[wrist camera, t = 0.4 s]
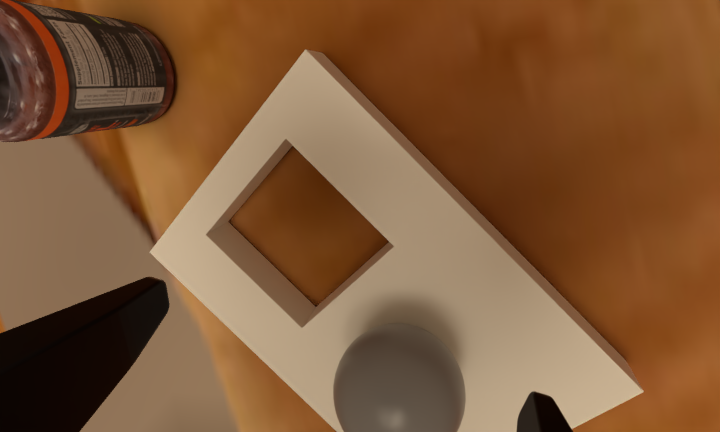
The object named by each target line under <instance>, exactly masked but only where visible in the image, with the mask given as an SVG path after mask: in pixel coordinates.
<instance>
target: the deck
mask: <svg viewBox="0 0 720 432" xmlns="http://www.w3.org/2000/svg"><path fill="white" fill-rule="evenodd" d="M292 146H294V147H295V148H296V149H297V150H298V151H299V152H300V153H301V154H302V155H303V156H304V157H305V158H306V159H307V160H308V161H309V162H310V163H311V164H312V165H313V166H314V167H315V168H316V169H317V170H318V171H319V172H320V173H321V174H322V175H323V176H324V177H325V178H326V179H327V180H328V181H329V182H330V183H331V184H332V185H333V186H334V187H335V188H336V189H337V190H338V191H339V192H340V193H341V194H342V195H343V196H344V197H345V198H346V199H347V200H348V201H349V202H350V203H351V204H352V205H353V206H354V207H355V208H356V209H357V210H358V211H359V212H360V213H361V214H362V215H363V216H364V217H365V218H366V219H367V220H368V221H369V222H370V223H371V224H372V225H373V226H374V227H375V228H376V229H377V230H378V231H379V232H380V233H381V234H382V235H383V236H384V237H385V238H386V239H387V240H388V241H389V242H388V243H387V244H386V245H385V246H384V247H383V248H381V249H380V250H379V251H378V252H377V253H376V254H375V255H374V256H372V257H371V258H370V259H369V260H368V261H367V262H366V263H365V264H364V265H362V266H361V267H360V268H359V269H358V270H357V271H356V272H355V273H354V274H352V275H351V276H350V277H349V278H348V279H347V280H346V281H345V282H343V283H342V284H341V285H340V286H339V287H338V288H337V289H336V290H335V291H333V292H332V293H331V294H330V295H329V296H328V297H327V298H326V299H324V300H323V301H322V302H321V303H320V304H319V305H318V306H317V307H315V306H314V305H313V304H312V303H311V302H310V301H309V300H308V299H307V298H306V297H305V296H304V295H303V294H302V293H301V292H300V291H299V290H298V289H297V288H296V287H295V286H294V285H293V284H292V283H291V282H290V281H289V280H288V279H287V278H286V277H285V276H283V275H282V274H281V273H280V272H279V271H278V270H277V269H276V268H275V267H274V266H273V265H272V264H271V263H270V262H269V261H268V260H267V259H266V258H265V257H264V256H263V255H262V254H261V253H260V252H259V251H258V250H257V249H256V248H255V247H254V246H253V245H252V244H251V243H250V242H249V241H248V240H247V239H246V238H244V237H243V236H242V235H241V234H240V233H239V232H238V231H237V230H236V229H235V228H234V227H233V226H232V225H231V224H230V223H229V222H228V221H229V220H230V219H231V218H232V217H233V215H234V214H235V213H236V212H237V211H238V210H239V208H240V207H241V206H242V205H243V204H244V202H245V201H246V200H247V199H248V198H249V197H250V195H251V194H252V193H253V192H254V191H255V190H256V188H257V187H258V186H259V185H260V184H261V182H262V181H263V180H264V179H265V178H266V177H267V175H268V174H269V173H270V172H271V171H272V169H273V168H274V167H275V166H276V165H277V164H278V162H279V161H280V160H281V159H282V158H283V157H284V155H285V154H286V153H287V152H288V151H289V149H290V148H291V147H292ZM150 253H151V254H152V255H153V256H154V257H155V258H156V259H157V260H158V261H159V262H160V263H161V264H162V265H163V266H164V267H165V268H166V269H167V270H169V271H170V272H171V273H172V274H173V275H174V276H175V277H176V278H177V279H178V280H179V281H180V282H181V283H182V284H183V285H184V286H185V287H186V288H187V289H188V290H189V291H190V292H191V293H193V294H194V295H195V296H196V297H197V298H198V299H199V300H200V301H201V302H202V303H203V304H204V305H205V306H206V307H207V308H208V309H209V310H210V311H211V312H212V313H213V314H214V315H215V316H217V317H218V318H219V319H220V320H221V321H222V322H223V323H224V324H225V325H226V326H227V327H228V328H229V329H230V330H231V331H232V332H233V333H234V334H235V335H236V336H237V337H238V338H240V339H241V340H242V341H243V342H244V343H245V344H246V345H247V346H248V347H249V348H250V349H251V350H252V351H253V352H254V353H255V354H256V355H257V356H258V357H259V358H260V359H261V360H262V361H264V362H265V363H266V364H267V365H268V366H269V367H270V368H271V369H272V370H273V371H274V372H275V373H276V374H277V375H278V376H279V377H280V378H281V379H282V380H283V381H284V382H285V383H286V384H288V385H289V386H290V387H291V388H292V389H293V390H294V391H295V392H296V393H297V394H298V395H299V396H300V397H301V398H302V399H303V400H304V401H305V402H306V403H307V404H308V405H309V406H310V407H312V408H313V409H314V410H315V411H316V412H317V413H318V414H319V415H320V416H321V417H322V418H323V419H324V420H325V421H326V422H327V423H328V424H329V425H330V426H331V427H332V428H333V429H335V430H336V431H337V432H344V431H343V429H342V427H341V425H340V423H339V420H338V418H337V415H336V411H335V407H334V400H333V385H334V378H335V373H336V370H337V367H338V364H339V361H340V360H341V358H342V356H343V354H344V352H345V351H346V349H347V348H348V347H349V346H350V344H351V343H352V342H353V341H354V340H355V339H356V338H357V337H359V336H360V335H362V334H363V333H365V332H366V331H368V330H370V329H372V328H374V327H377V326H380V325H384V324H389V323H404V324H410V325H414V326H417V327H420V328H422V329H425V330H427V331H428V332H430V333H432V334H433V335H435V336H436V337H437V338H439V339H440V340H441V341H442V342H443V343H444V344H445V345H446V346H447V348H448V349H449V350H450V351H451V353H452V354H453V355H454V357H455V359H456V361H457V363H458V365H459V367H460V370H461V373H462V376H463V379H464V384H465V393H466V402H465V410H464V415H463V419H462V422H461V425H460V427H459V429H458V431H457V432H517V420H518V416H519V413H520V411H521V409H522V407H523V405H524V403H525V401H526V399H527V397H528V395H529V394H530V393H531V392H532V391H536V392H539V393H542V394H546V395H549V396H551V397H552V398H553V399H554V401H555V402H556V404H557V406H558V407H559V409H560V411H561V412H562V414H563V416H564V417H565V419H566V421H567V422H568V424H569V426H570V427H571V429H573V428H575V427H577V426H579V425H581V424H583V423H584V422H586V421H588V420H590V419H592V418H594V417H596V416H598V415H600V414H602V413H604V412H606V411H608V410H610V409H612V408H614V407H615V406H617V405H619V404H621V403H623V402H625V401H627V400H629V399H631V398H633V397H635V396H637V395H639V394H641V393H643V392H644V391H643V389H642V388H641V386H640V384H639V382H638V381H637V379H636V377H635V375H634V374H633V372H632V370H631V368H630V367H629V365H628V363H627V361H626V360H625V359H624V358H623V357H622V356H621V355H620V354H619V353H618V352H617V351H616V350H615V349H614V348H613V347H612V346H611V345H610V344H609V343H608V342H607V341H606V340H605V339H604V338H603V337H602V336H601V335H600V334H599V333H598V332H597V331H596V330H595V329H594V328H593V327H592V326H591V325H590V324H589V323H588V322H587V321H586V320H585V319H584V318H583V317H582V316H581V315H580V313H579V312H578V311H577V310H576V309H575V308H574V307H573V306H572V305H571V304H570V303H569V302H568V301H567V300H566V299H565V298H564V297H563V296H562V295H561V294H560V293H559V292H558V291H557V290H556V289H555V288H554V287H553V286H552V285H551V284H550V283H549V282H548V281H547V280H546V279H545V278H544V277H543V276H542V275H541V274H540V273H539V272H538V271H537V270H536V269H535V268H534V267H533V266H532V265H531V264H530V263H529V262H528V261H527V260H526V259H525V258H524V257H523V256H522V255H521V254H520V253H519V252H518V251H517V250H516V249H515V248H514V247H513V246H512V245H511V244H510V243H509V242H508V240H507V239H506V238H505V237H504V236H503V235H502V234H501V233H500V232H499V231H498V230H497V229H496V228H495V227H494V226H493V225H492V224H491V223H490V222H489V221H488V220H487V219H486V218H485V217H484V216H483V215H482V214H481V213H480V212H479V211H478V210H477V209H476V208H475V207H474V206H473V205H472V204H471V203H470V202H469V201H468V200H467V199H466V198H465V197H464V196H463V195H462V194H461V193H460V192H459V191H458V190H457V189H456V188H455V187H454V186H453V185H452V184H451V183H450V182H449V181H448V180H447V179H446V178H445V177H444V176H443V175H442V174H441V173H440V172H439V171H438V170H437V168H436V167H435V166H434V165H433V164H432V163H431V162H430V161H429V160H428V159H427V158H426V157H425V156H424V155H423V154H422V153H421V152H420V151H419V150H418V149H417V148H416V147H415V146H414V145H413V144H412V143H411V142H410V141H409V140H408V139H407V138H406V137H405V136H404V135H403V134H402V133H401V132H400V131H399V130H398V129H397V128H396V127H395V126H394V125H393V124H392V123H391V122H390V121H389V120H388V119H387V118H386V117H385V116H384V115H383V114H382V113H381V112H380V111H379V110H378V109H377V108H376V107H375V106H374V105H373V104H372V103H371V102H370V101H369V100H368V99H367V98H366V96H365V95H364V94H363V93H362V92H361V91H360V90H359V89H358V88H357V87H356V86H355V85H354V84H353V83H352V82H351V81H350V80H349V79H348V78H347V77H346V76H345V75H344V74H343V73H342V72H341V71H340V70H339V69H338V68H337V67H336V66H335V65H334V64H333V63H332V62H331V61H330V60H329V59H328V58H327V57H326V56H325V55H324V54H323V53H321V52H316V51H311V50H306V49H305V51H304V52H303V53H302V55H301V56H300V57H299V58H298V60H297V61H296V62H295V64H294V65H293V66H292V68H291V69H290V70H289V71H288V73H287V74H286V75H285V77H284V78H283V79H282V81H281V82H280V83H279V84H278V86H277V87H276V88H275V90H274V91H273V92H272V94H271V95H270V96H269V97H268V99H267V100H266V101H265V103H264V104H263V105H262V107H261V108H260V109H259V110H258V112H257V113H256V114H255V116H254V117H253V118H252V120H251V121H250V122H249V123H248V125H247V126H246V127H245V129H244V130H243V131H242V133H241V134H240V135H239V136H238V138H237V139H236V140H235V142H234V143H233V144H232V146H231V147H230V148H229V149H228V151H227V152H226V153H225V155H224V156H223V157H222V159H221V160H220V161H219V163H218V164H217V165H216V166H215V168H214V169H213V170H212V172H211V173H210V174H209V176H208V177H207V178H206V179H205V181H204V182H203V183H202V185H201V186H200V187H199V189H198V190H197V191H196V192H195V194H194V195H193V196H192V198H191V199H190V200H189V202H188V203H187V204H186V205H185V207H184V208H183V209H182V211H181V212H180V213H179V215H178V216H177V217H176V218H175V220H174V221H173V222H172V224H171V225H170V226H169V228H168V229H167V230H166V231H165V233H164V234H163V235H162V237H161V238H160V239H159V241H158V242H157V243H156V244H155V246H154V247H153V248H152V250H151V251H150Z"/></svg>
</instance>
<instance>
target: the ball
mask: <svg viewBox="0 0 720 432" xmlns="http://www.w3.org/2000/svg"><path fill="white" fill-rule="evenodd" d="M333 400H334V407H335V411H336V415H337V418H338V420H339V423H340V425H341V427H342V429H343V431H344V432H457V431H458V429H459V427H460V425H461V422H462V419H463V415H464V410H465V402H466V393H465V384H464V379H463V376H462V373H461V370H460V367H459V365H458V363H457V361H456V359H455V357H454V355H453V354H452V353H451V351H450V350H449V349H448V348H447V346H446V345H445V344H444V343H443V342H442V341H441V340H440V339H439V338H437V337H436V336H435V335H433V334H432V333H430V332H428V331H427V330H425V329H422V328H420V327H417V326H414V325H410V324H404V323H389V324H384V325H380V326H377V327H374V328H372V329H370V330H368V331H366V332H365V333H363V334H362V335H360V336H359V337H357V338H356V339H355V340H354V341H353V342H352V343H351V344H350V346H349V347H348V348H347V349H346V351H345V352H344V354H343V356H342V358H341V360H340V361H339V364H338V367H337V370H336V373H335V378H334V385H333Z"/></svg>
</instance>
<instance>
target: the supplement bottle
mask: <svg viewBox="0 0 720 432" xmlns="http://www.w3.org/2000/svg"><path fill="white" fill-rule="evenodd" d="M173 91H174V74H173V70H172V65H171V62H170V59H169V57H168V55H167V53H166V51H165V49H164V48H163V46H162V44H161V43H160V42H159V41H158V39H157V38H156V37H155V36H153V35H152V34H151V33H150V32H149V31H147V30H146V29H145V28H143V27H141V26H139V25H137V24H134V23H130V22H126V21H123V20H119V19H114V18H109V17H102V16H97V15H91V14H86V13H81V12H75V11H70V10H64V9H59V8H52V7H47V6H42V5H36V4H31V3H24V2H19V1H15V0H0V141H2V142H19V141H27V140H33V139H44V138H51V137H59V136H67V135H72V134H80V133H86V132H93V131H101V130H109V129H117V128H126V127H131V126H139V125H141V124H146V123H149V122H152V121H154V120H156V119H157V118H159V117H160V116H161V115H162V114H163V113H164V112H166V110H167V108H168V106H169V104H170V102H171V98H172V95H173Z"/></svg>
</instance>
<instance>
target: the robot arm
mask: <svg viewBox="0 0 720 432" xmlns="http://www.w3.org/2000/svg"><path fill="white" fill-rule="evenodd" d="M168 309H169V298H168V293H167V287H166V283H165V282H164V281H163V280H160V279H157V278H154V277H146V278H143V279H141V280H138V281H135V282H133V283H130V284H127V285H125V286H122V287H120V288H117V289H115V290H112V291H110V292H107V293H104V294H101V295H99V296H96V297H94V298H91V299H88V300H86V301H83V302H81V303H78V304H75V305H73V306H71V307H68V308H65V309H62V310H60V311H57V312H55V313H52V314H50V315H47V316H44V317H42V318H39V319H37V320H34V321H32V322H29V323H26V324H23V325H21V326H19V327H16V328H13V329H11V330H8V331H5V332H3V333H0V432H80V430H81V429H82V428H83V426H84V425H85V424H86V423H87V422H88V420H89V419H90V418H91V417H92V415H93V414H94V413H95V412H96V410H97V409H98V408H99V407H100V405H101V404H102V403H103V402H104V400H105V399H106V398H107V397H108V395H109V394H110V393H111V392H112V390H113V389H114V388H115V387H116V385H117V384H118V383H119V382H120V380H121V379H122V378H123V377H124V375H125V374H126V373H127V371H128V370H129V369H130V368H131V366H132V365H133V364H134V362H135V361H136V360H137V358H138V357H139V355H140V354H141V352H142V350H143V349H144V348H145V346H146V344H147V343H148V341H149V340H150V338H151V337H152V335H153V334H154V332H155V331H156V329H157V328H158V326H159V325H160V323H161V321H162V320H163V319H164V317H165V316H166V314H167V312H168ZM517 432H573V430H572V429H571V427H570V426H569V424H568V422H567V421H566V419H565V417H564V416H563V414H562V412H561V411H560V409H559V407H558V406H557V404H556V402H555V401H554V399H553V398H552V397H551V396H549V395H546V394H542V393H539V392H536V391H532V392H531V393H530V394H529V395H528V397H527V399H526V401H525V403H524V405H523V407H522V409H521V411H520V413H519V416H518V420H517Z"/></svg>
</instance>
